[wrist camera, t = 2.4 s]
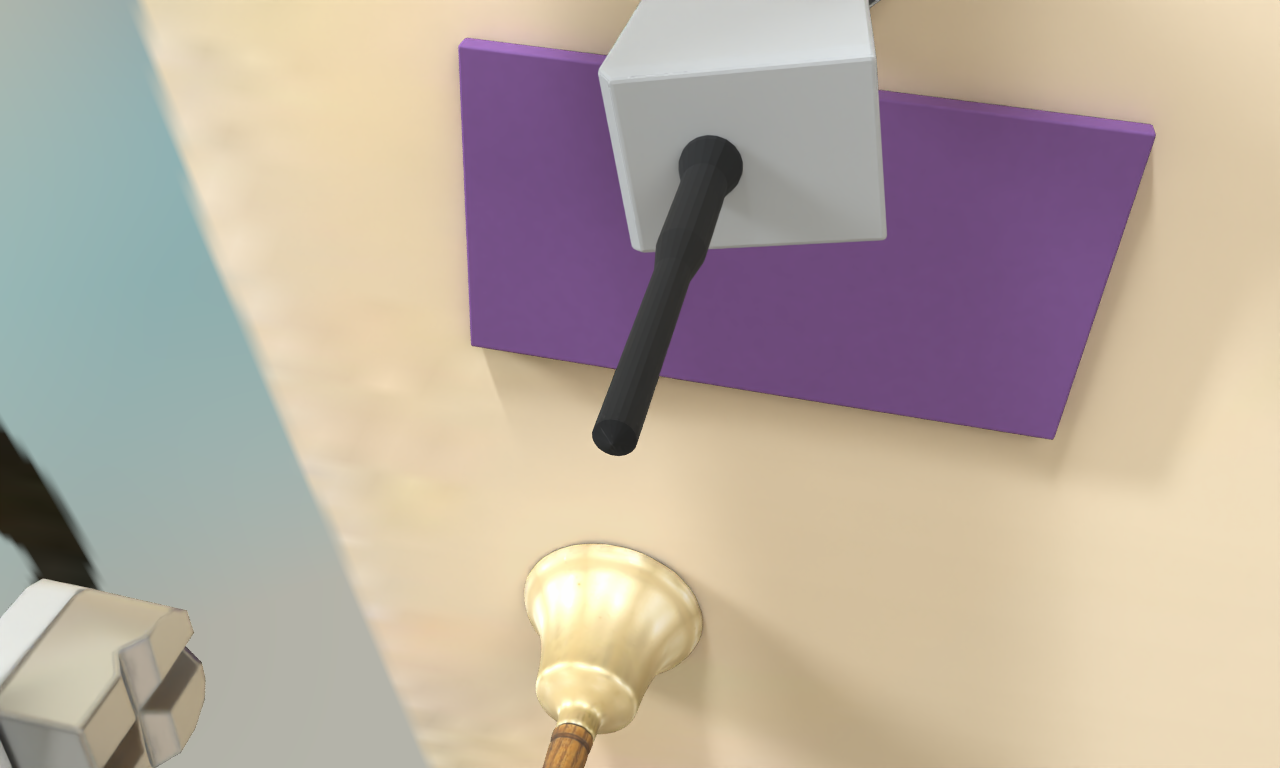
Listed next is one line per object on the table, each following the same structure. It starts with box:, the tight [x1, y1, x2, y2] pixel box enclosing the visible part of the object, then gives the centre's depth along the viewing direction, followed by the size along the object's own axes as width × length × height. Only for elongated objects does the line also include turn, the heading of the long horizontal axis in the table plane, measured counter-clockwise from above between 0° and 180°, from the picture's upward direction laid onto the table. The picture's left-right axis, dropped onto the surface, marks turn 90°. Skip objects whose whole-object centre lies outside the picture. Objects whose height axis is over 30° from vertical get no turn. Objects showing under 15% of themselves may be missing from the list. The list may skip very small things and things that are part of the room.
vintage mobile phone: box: [592, 0, 887, 456], centre depth 25 cm, size 4×5×25 cm
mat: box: [458, 38, 1156, 440], centre depth 41 cm, size 12×22×1 cm, turn 87°
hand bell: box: [524, 544, 703, 768], centre depth 48 cm, size 8×8×16 cm
